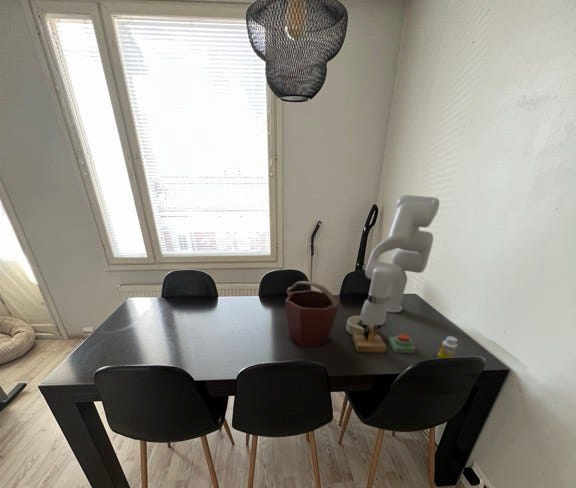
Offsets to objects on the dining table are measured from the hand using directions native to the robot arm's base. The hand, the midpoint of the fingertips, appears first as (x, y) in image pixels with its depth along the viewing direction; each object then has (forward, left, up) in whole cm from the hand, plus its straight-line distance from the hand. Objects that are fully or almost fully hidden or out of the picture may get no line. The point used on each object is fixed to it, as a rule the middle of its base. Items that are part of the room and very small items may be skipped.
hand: (368, 337), depth 131 cm
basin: (-12, 0, -3) cm, 13 cm away
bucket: (-5, -26, -3) cm, 27 cm away
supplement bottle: (+12, +30, -3) cm, 32 cm away
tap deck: (+1, 0, -3) cm, 3 cm away
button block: (+2, +15, -3) cm, 15 cm away
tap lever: (0, 0, 0) cm, 0 cm away
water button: (+2, +15, 0) cm, 15 cm away
